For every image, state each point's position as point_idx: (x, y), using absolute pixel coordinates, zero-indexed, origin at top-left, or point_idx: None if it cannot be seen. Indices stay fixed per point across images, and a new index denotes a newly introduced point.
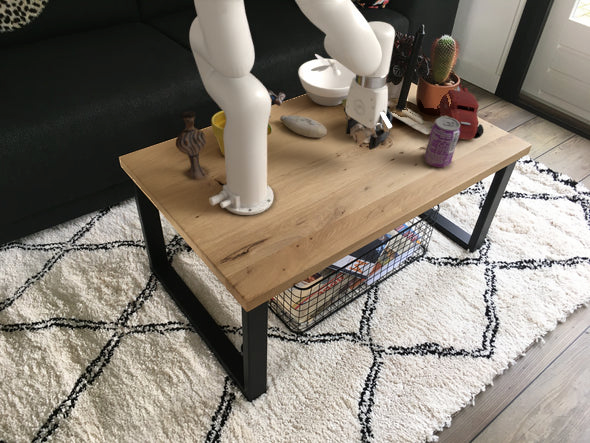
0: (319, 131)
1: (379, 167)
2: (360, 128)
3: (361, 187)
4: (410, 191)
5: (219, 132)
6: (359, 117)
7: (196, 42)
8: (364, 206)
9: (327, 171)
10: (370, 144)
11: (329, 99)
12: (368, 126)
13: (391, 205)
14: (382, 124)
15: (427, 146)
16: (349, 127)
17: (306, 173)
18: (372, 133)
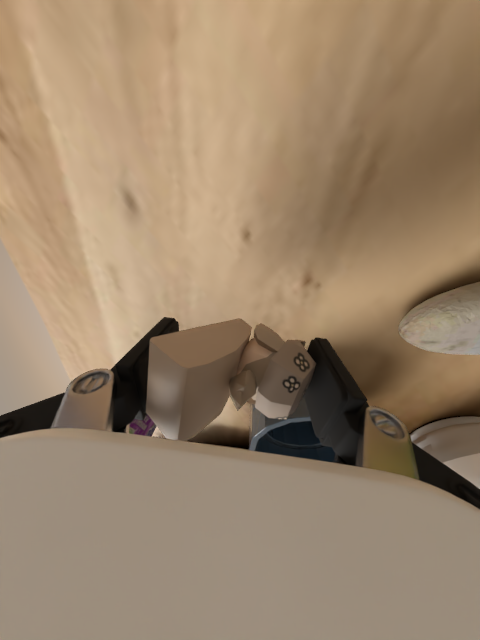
0: (437, 317)
1: (189, 317)
2: (241, 389)
3: (143, 194)
4: (72, 293)
5: None
6: (173, 602)
7: None
8: (39, 89)
9: (288, 167)
10: (153, 330)
11: (461, 444)
12: (5, 453)
13: (25, 194)
14: (256, 438)
15: (135, 425)
16: (326, 369)
17: (364, 46)
18: (108, 388)
